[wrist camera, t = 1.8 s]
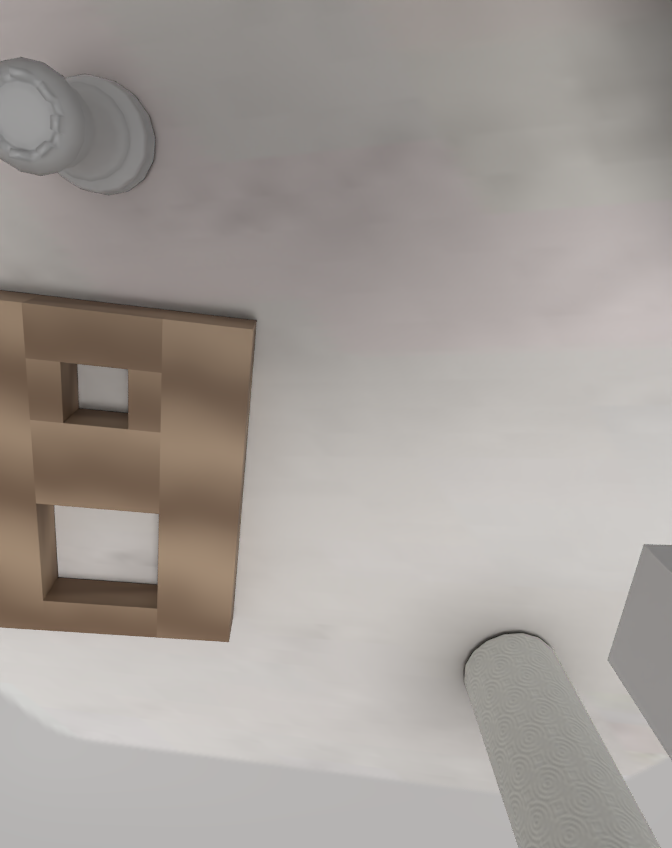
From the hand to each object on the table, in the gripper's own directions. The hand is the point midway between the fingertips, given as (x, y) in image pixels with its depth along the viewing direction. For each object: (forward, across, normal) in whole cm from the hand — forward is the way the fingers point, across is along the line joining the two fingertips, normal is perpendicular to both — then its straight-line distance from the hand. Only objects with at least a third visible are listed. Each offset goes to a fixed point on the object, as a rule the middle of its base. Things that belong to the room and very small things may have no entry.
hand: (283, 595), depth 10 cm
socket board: (+19, -10, -8) cm, 23 cm away
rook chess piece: (+19, -9, +8) cm, 23 cm away
